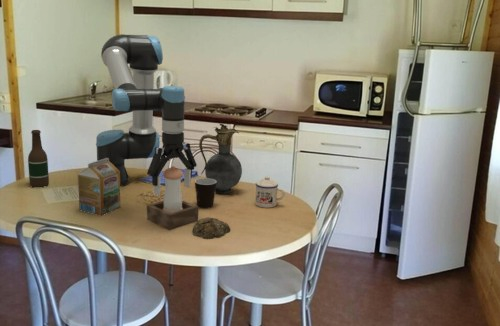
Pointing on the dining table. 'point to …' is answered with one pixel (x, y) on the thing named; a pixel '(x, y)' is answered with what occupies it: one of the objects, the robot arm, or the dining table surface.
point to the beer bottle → (38, 162)
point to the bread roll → (210, 228)
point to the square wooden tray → (172, 215)
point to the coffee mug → (205, 192)
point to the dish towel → (162, 179)
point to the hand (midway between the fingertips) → (172, 190)
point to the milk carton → (99, 188)
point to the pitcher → (222, 161)
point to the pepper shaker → (172, 190)
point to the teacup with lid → (267, 193)
